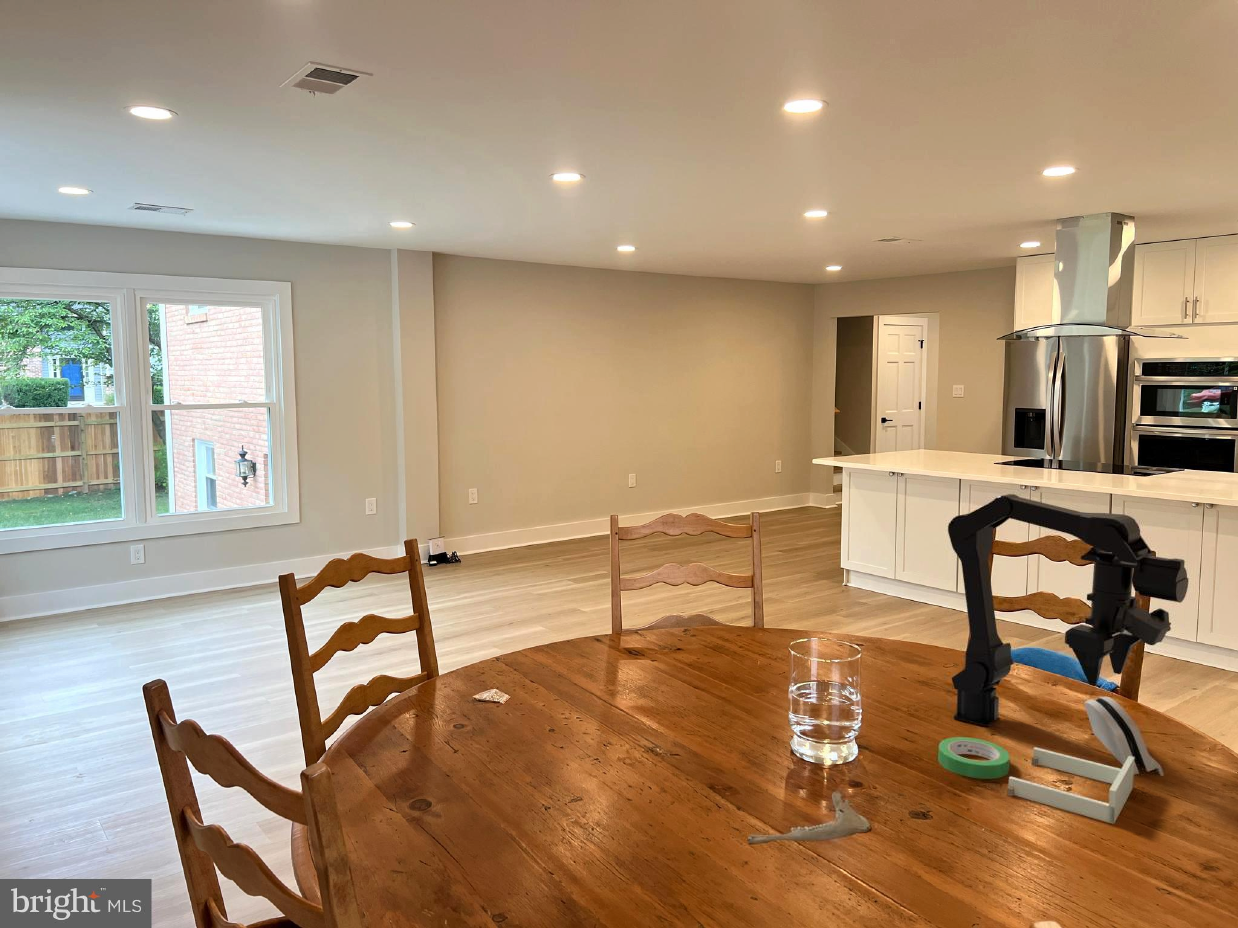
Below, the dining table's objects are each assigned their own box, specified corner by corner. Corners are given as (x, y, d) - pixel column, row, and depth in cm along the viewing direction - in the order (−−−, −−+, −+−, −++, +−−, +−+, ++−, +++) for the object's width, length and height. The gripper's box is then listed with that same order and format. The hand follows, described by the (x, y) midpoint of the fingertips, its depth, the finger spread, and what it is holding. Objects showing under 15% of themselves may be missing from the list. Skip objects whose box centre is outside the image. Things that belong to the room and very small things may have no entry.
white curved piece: (1165, 776, 139) (1145, 719, 138) (1134, 783, 140) (1115, 727, 139) (1122, 734, 155) (1105, 683, 155) (1095, 741, 156) (1078, 690, 156)
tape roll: (1005, 755, 148) (1006, 741, 147) (1012, 784, 137) (1013, 768, 137) (937, 747, 151) (937, 732, 151) (939, 774, 141) (939, 759, 141)
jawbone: (885, 827, 126) (886, 814, 125) (792, 878, 114) (793, 864, 113) (836, 800, 133) (837, 787, 133) (744, 845, 121) (744, 832, 120)
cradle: (1006, 795, 133) (1007, 764, 133) (1035, 759, 145) (1036, 731, 145) (1112, 826, 124) (1114, 793, 123) (1133, 785, 136) (1135, 755, 135)
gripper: (1139, 610, 131) (1132, 707, 133) (1188, 591, 142) (1180, 681, 144) (1066, 594, 140) (1060, 685, 142) (1117, 578, 151) (1111, 662, 153)
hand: (1105, 679), depth 145 cm, fingers open, 9 cm apart
